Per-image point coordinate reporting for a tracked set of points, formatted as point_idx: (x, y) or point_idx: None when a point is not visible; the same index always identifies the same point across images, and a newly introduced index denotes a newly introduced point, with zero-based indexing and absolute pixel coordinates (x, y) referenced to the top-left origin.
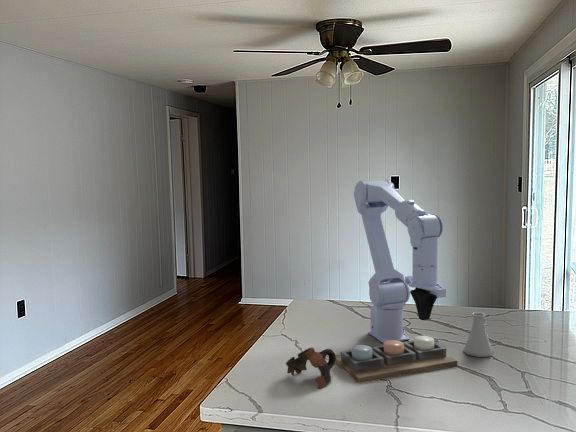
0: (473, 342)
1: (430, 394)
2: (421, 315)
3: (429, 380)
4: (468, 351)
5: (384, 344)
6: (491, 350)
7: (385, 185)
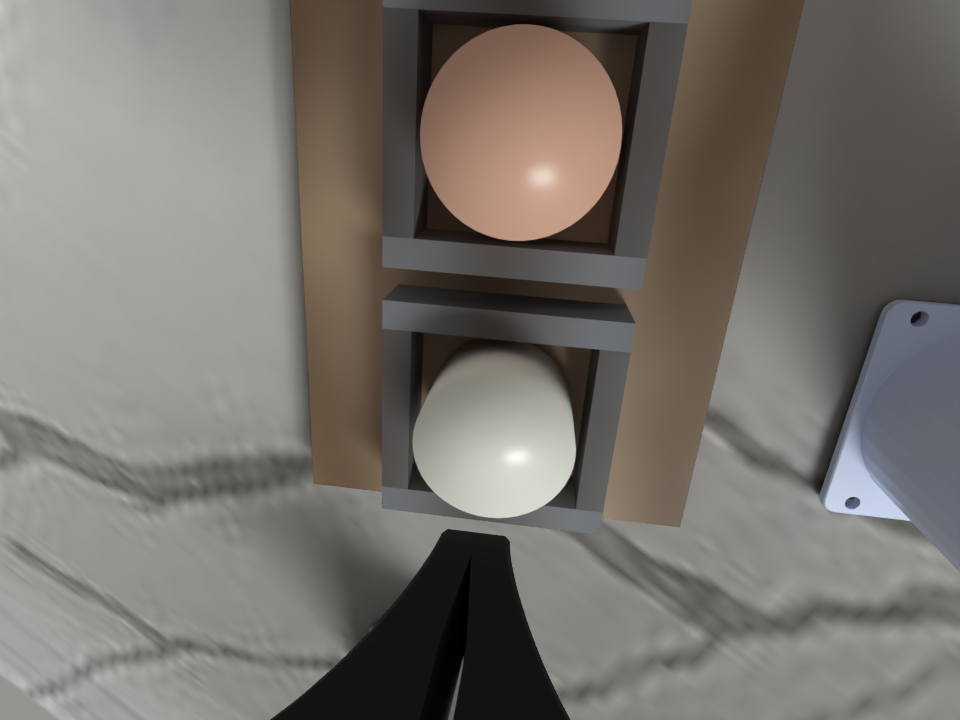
0: None
1: (2, 54)
2: (430, 559)
3: (187, 186)
4: None
5: (546, 30)
6: None
7: None
